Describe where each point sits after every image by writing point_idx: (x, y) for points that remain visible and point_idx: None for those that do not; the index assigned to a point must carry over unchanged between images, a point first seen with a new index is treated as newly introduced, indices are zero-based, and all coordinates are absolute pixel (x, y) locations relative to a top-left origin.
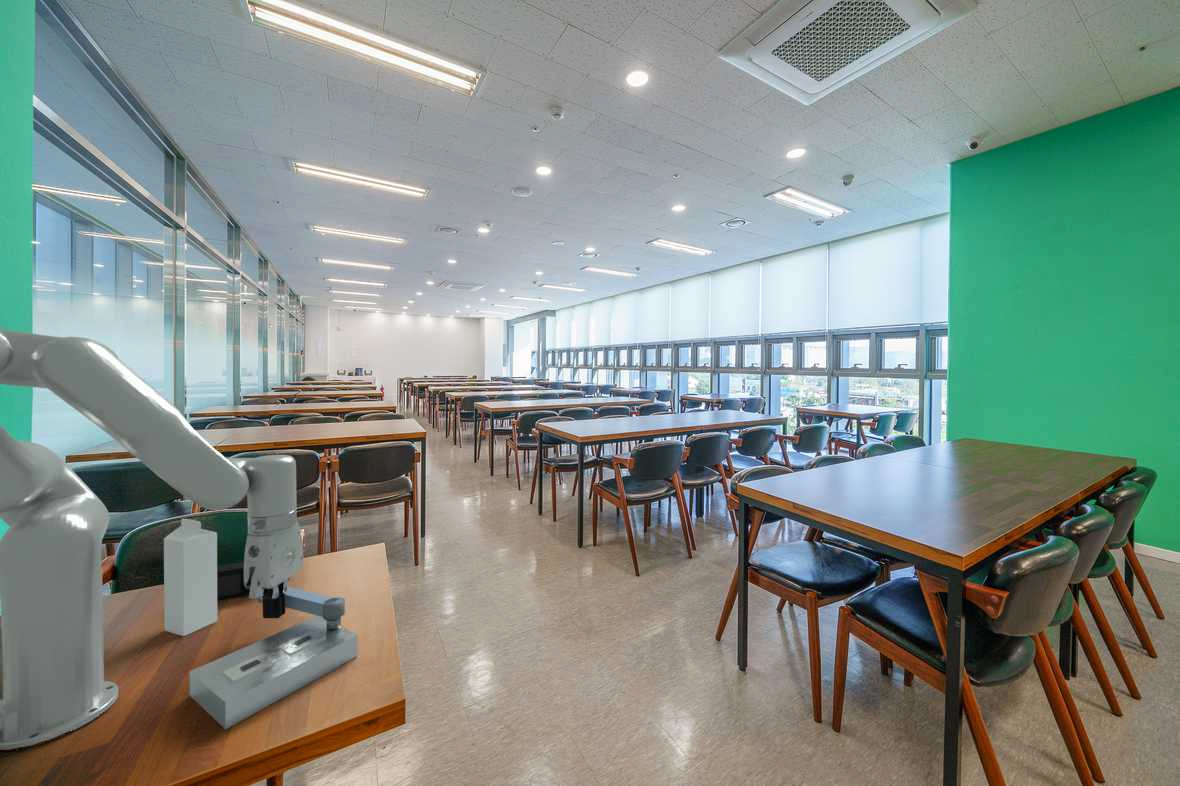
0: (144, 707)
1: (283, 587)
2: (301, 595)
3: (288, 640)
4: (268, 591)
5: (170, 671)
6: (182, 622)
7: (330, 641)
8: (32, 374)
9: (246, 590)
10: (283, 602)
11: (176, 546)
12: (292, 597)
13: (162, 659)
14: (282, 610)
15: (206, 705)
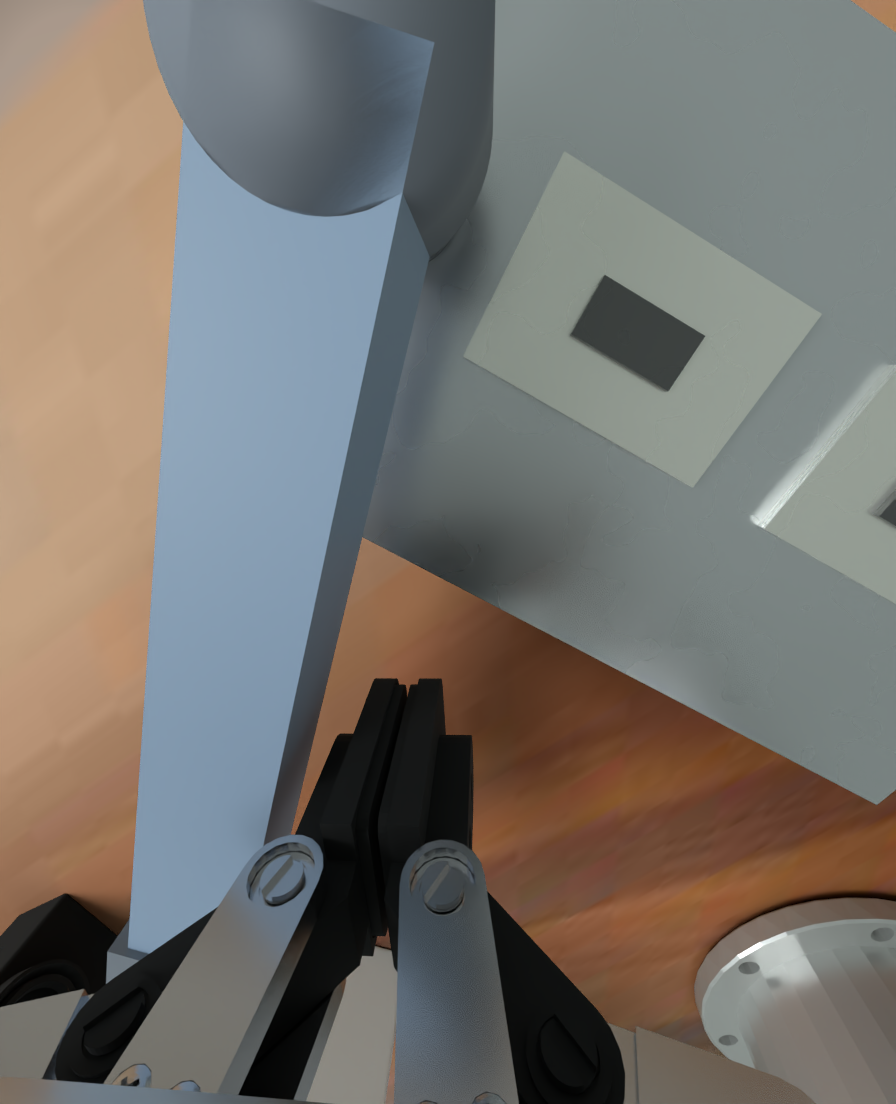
0: (832, 808)
1: (299, 922)
2: (247, 659)
3: (597, 474)
4: (563, 1051)
5: (615, 867)
6: (395, 1027)
7: (625, 57)
8: None
9: (101, 966)
10: (374, 751)
11: None
12: (292, 725)
13: (541, 928)
14: (397, 703)
15: None
